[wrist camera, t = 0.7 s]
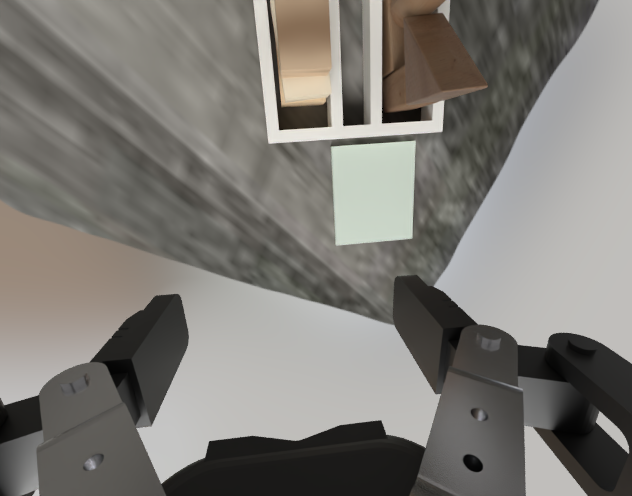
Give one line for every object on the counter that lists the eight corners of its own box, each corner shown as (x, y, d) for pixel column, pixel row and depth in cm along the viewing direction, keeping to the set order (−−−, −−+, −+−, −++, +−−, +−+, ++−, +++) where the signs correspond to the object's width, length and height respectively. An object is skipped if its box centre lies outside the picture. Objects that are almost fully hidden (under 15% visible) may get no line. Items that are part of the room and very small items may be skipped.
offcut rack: (251, -34, 30) (238, -104, 22) (438, -38, 32) (495, -106, 23) (269, 143, 35) (265, 142, 27) (430, 132, 37) (474, 128, 28)
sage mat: (330, 146, 36) (331, 146, 36) (413, 140, 37) (415, 140, 36) (335, 244, 40) (336, 245, 39) (410, 237, 41) (412, 238, 40)
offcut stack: (271, 11, 32) (266, -39, 23) (319, 10, 32) (331, -40, 23) (279, 107, 34) (278, 94, 26) (323, 105, 35) (337, 91, 26)
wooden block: (382, 114, 36) (472, 84, 19) (376, 3, 32) (479, -159, 15) (413, 109, 36) (530, 76, 19) (410, -1, 32) (550, -165, 15)
